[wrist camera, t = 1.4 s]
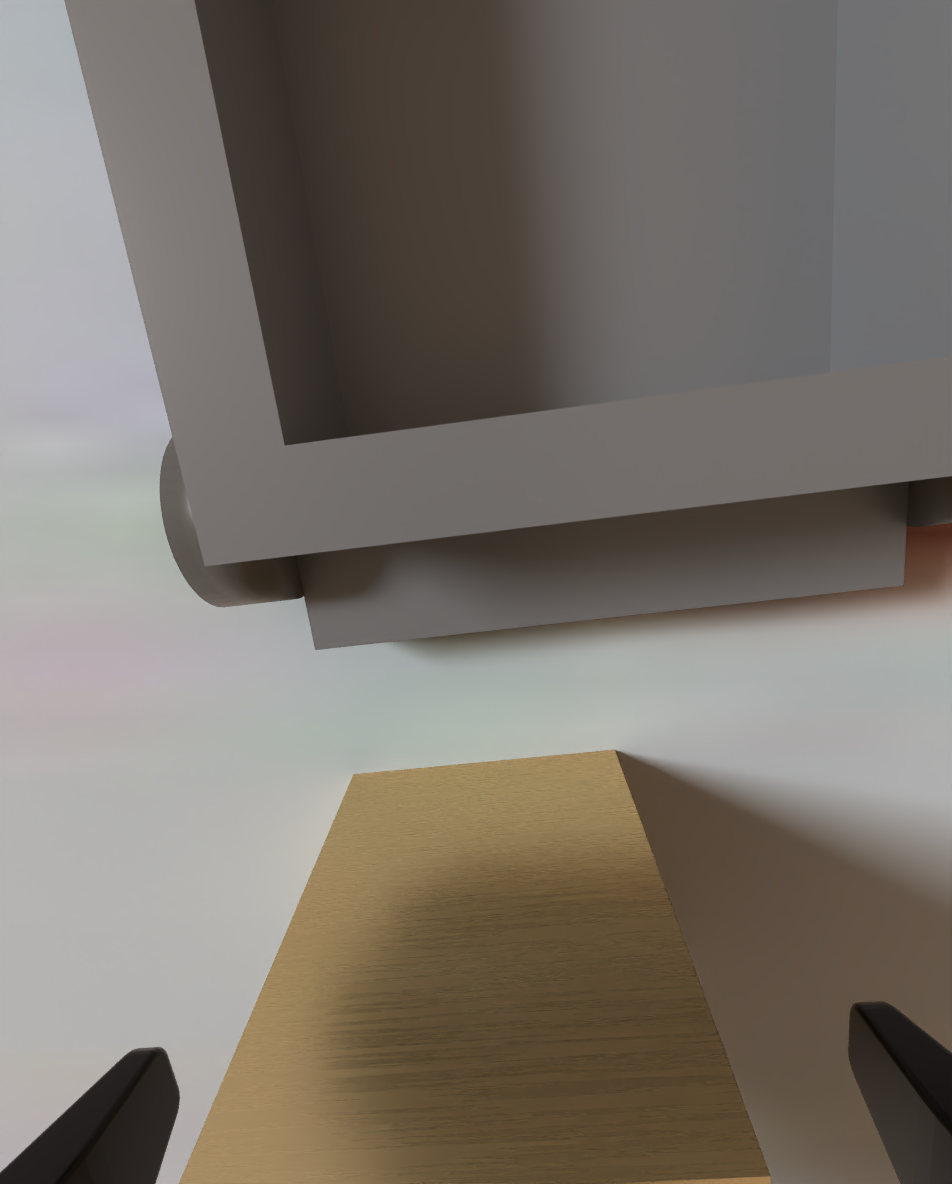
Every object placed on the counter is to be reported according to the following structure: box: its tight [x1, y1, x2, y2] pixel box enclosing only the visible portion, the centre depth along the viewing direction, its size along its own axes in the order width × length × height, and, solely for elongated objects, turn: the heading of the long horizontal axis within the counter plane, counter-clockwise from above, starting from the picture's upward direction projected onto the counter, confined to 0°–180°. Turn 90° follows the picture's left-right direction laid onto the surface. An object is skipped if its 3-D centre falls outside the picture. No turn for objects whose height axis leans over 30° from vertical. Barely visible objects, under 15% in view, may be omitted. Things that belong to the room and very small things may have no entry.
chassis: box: [64, 0, 952, 650], centre depth 6 cm, size 12×10×4 cm
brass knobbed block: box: [179, 750, 771, 1184], centre depth 7 cm, size 4×4×7 cm
